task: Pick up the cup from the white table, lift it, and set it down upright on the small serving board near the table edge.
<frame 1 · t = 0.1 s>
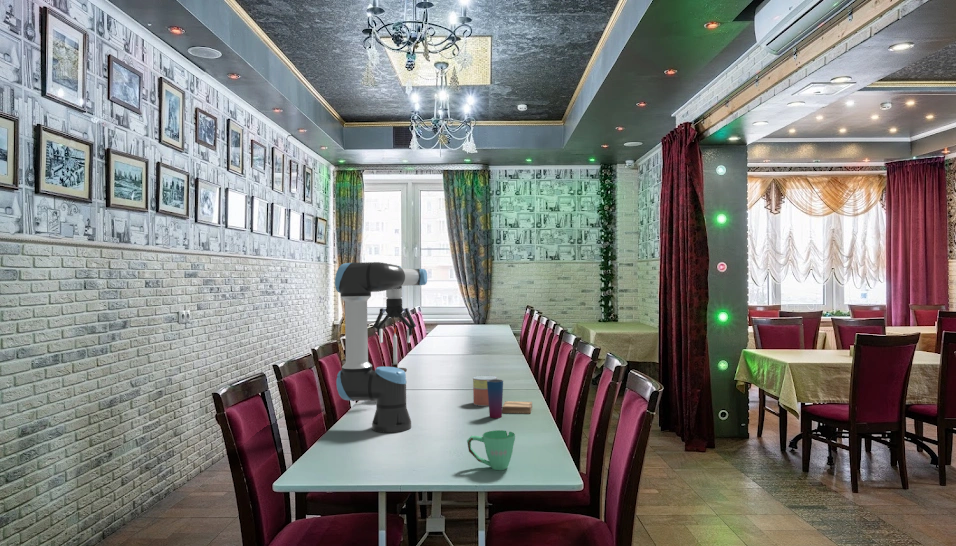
hand: (394, 342, 279), 28 cm above the table, fingers open, 13 cm apart
cup: (495, 417, 244), on the table
canned food: (485, 403, 271), on the table
board: (517, 410, 255), on the table
candlestick: (395, 399, 284), on the table
mug: (491, 468, 177), on the table
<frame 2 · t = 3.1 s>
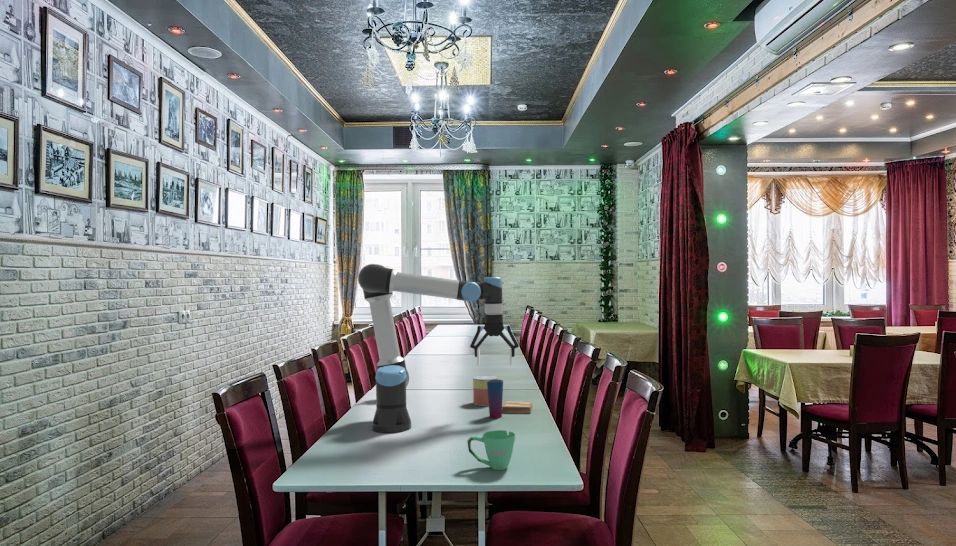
hand: (494, 364, 244), 22 cm above the table, fingers open, 13 cm apart
nothing on the table moved.
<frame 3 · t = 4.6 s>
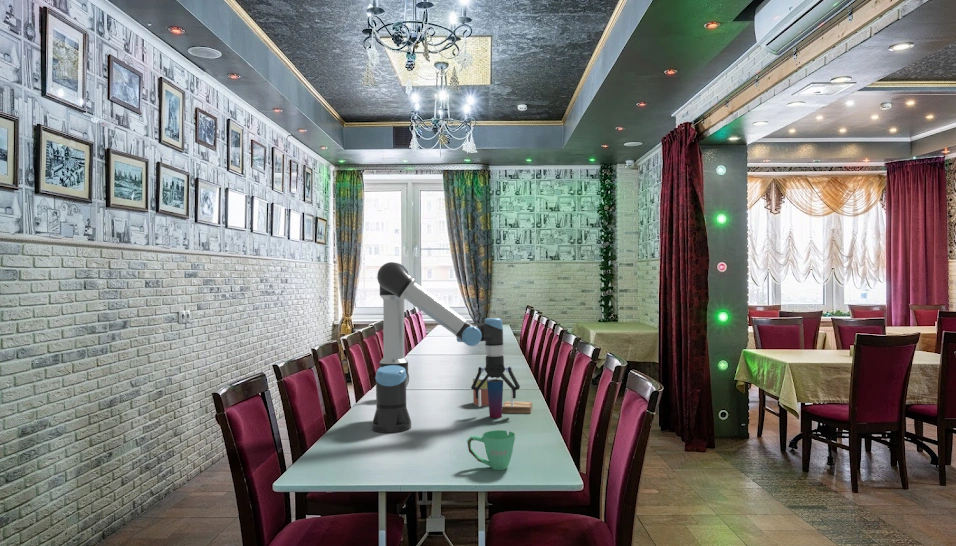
hand: (496, 406, 244), 4 cm above the table, fingers open, 13 cm apart
nothing on the table moved.
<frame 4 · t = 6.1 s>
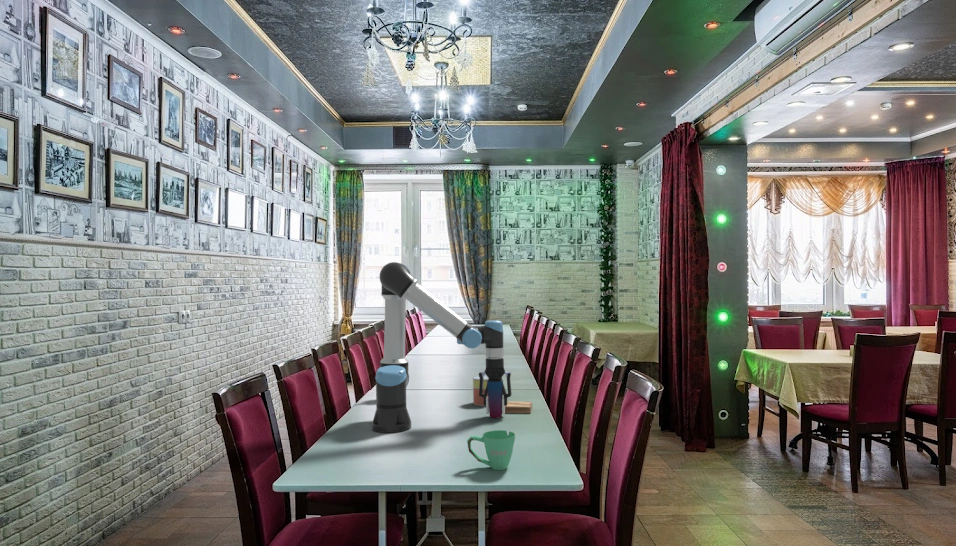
hand: (495, 413, 244), 1 cm above the table, fingers closed on cup, 6 cm apart
cup: (495, 417, 244), on the table, touching gripper
everything else where it was.
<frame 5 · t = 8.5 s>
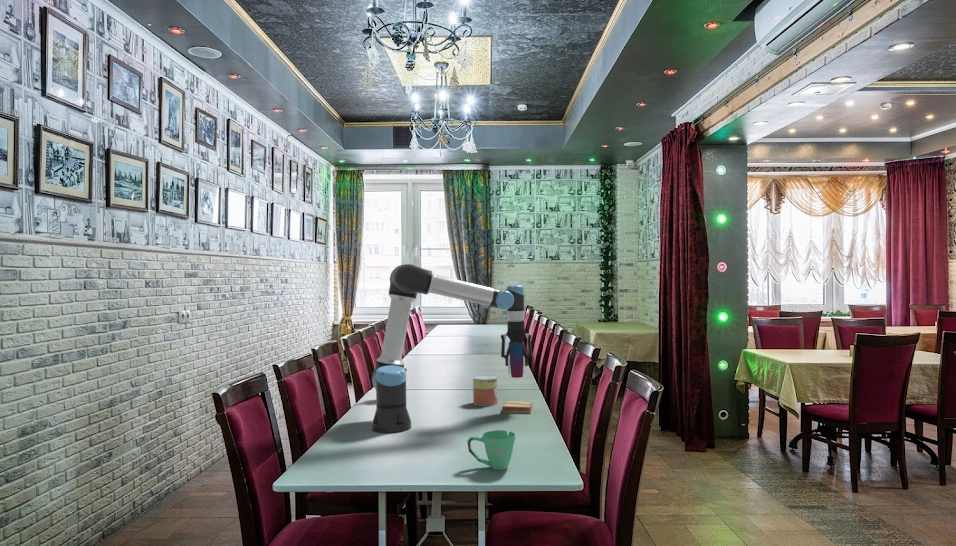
hand: (517, 373, 255), 16 cm above the table, fingers closed on cup, 6 cm apart
cup: (517, 377, 255), point 14 cm above the table, touching gripper
everything else where it was.
when the fingers open (6 cm above the table, at t = 10.9 s): cup drops 2 cm, resting on board.
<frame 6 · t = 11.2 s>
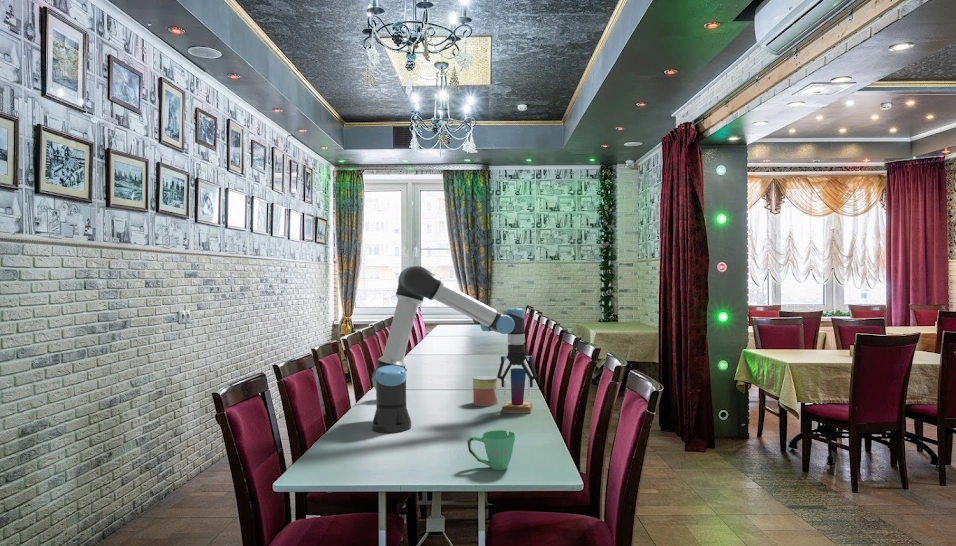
hand: (517, 394, 255), 7 cm above the table, fingers open, 10 cm apart
cup: (517, 404, 255), point 3 cm above the table, touching board
everything else where it was.
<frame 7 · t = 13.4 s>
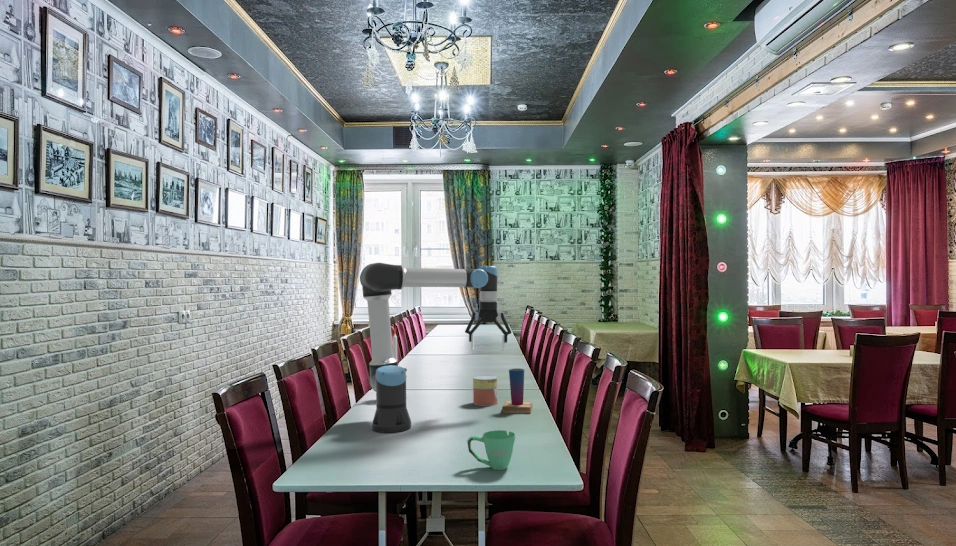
hand: (488, 350, 255), 26 cm above the table, fingers open, 13 cm apart
nothing on the table moved.
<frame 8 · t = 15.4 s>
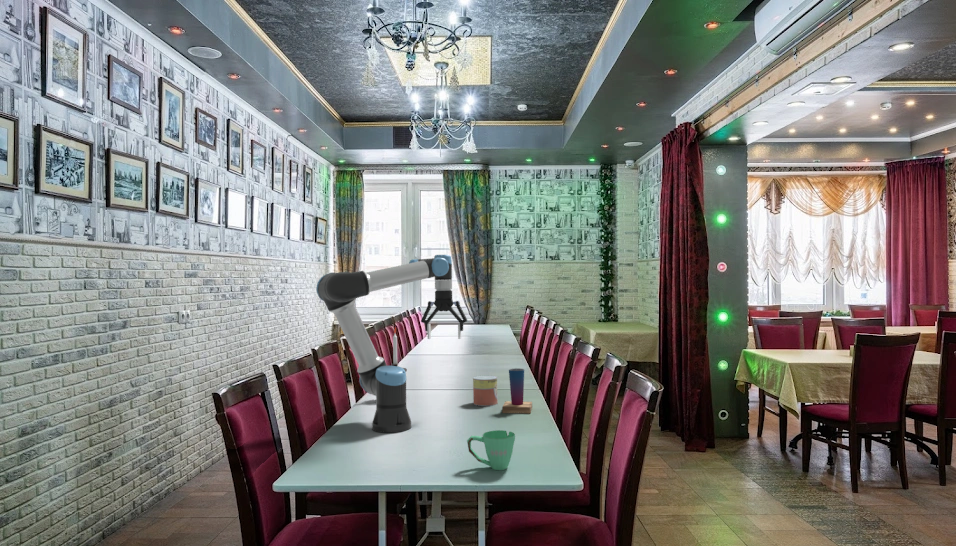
hand: (444, 338, 255), 32 cm above the table, fingers open, 13 cm apart
nothing on the table moved.
at the end: cup inside the target area on the board (0.1 cm from its centre), point 2.5 cm above the board's base; cup tilted 0°; the gripper is holding nothing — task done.
